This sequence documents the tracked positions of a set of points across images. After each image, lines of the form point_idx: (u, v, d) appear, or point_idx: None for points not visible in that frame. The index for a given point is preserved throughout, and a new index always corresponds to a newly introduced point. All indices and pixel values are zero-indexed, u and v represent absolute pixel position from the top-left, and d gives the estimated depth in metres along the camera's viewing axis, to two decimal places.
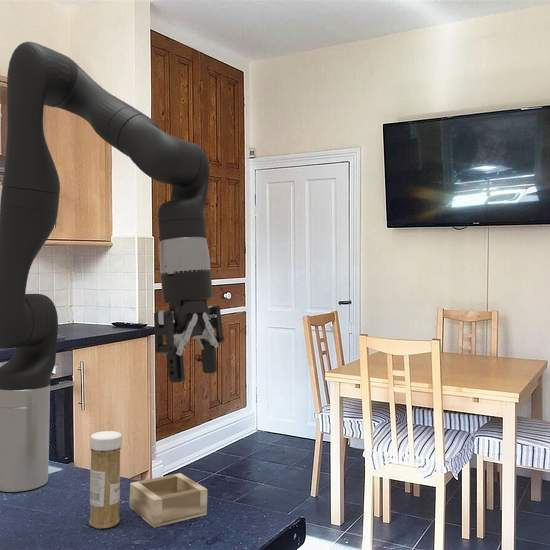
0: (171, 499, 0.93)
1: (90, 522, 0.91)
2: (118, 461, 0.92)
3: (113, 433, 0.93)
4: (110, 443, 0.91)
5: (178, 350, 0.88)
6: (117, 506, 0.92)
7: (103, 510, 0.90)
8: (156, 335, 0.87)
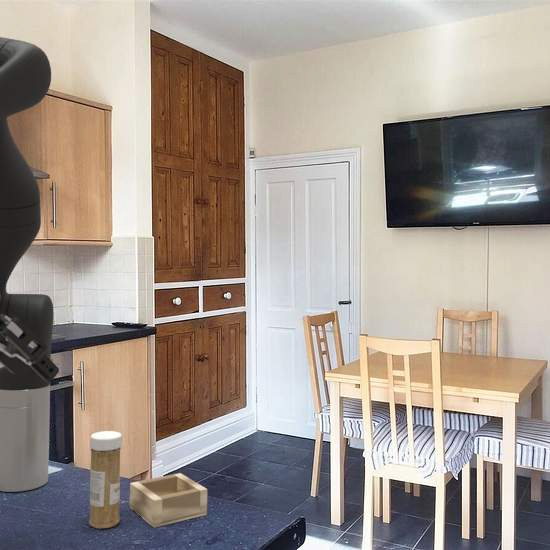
0: (171, 499, 0.93)
1: (90, 522, 0.91)
2: (118, 461, 0.92)
3: (113, 433, 0.93)
4: (110, 443, 0.91)
5: None
6: (117, 506, 0.92)
7: (103, 510, 0.90)
8: None
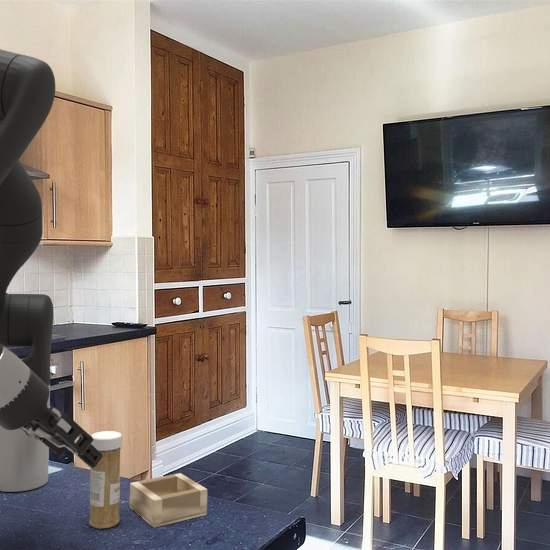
0: (171, 499, 0.93)
1: (90, 522, 0.91)
2: (118, 461, 0.92)
3: (113, 433, 0.93)
4: (110, 443, 0.91)
5: (35, 437, 0.89)
6: (117, 506, 0.92)
7: (103, 510, 0.90)
8: None
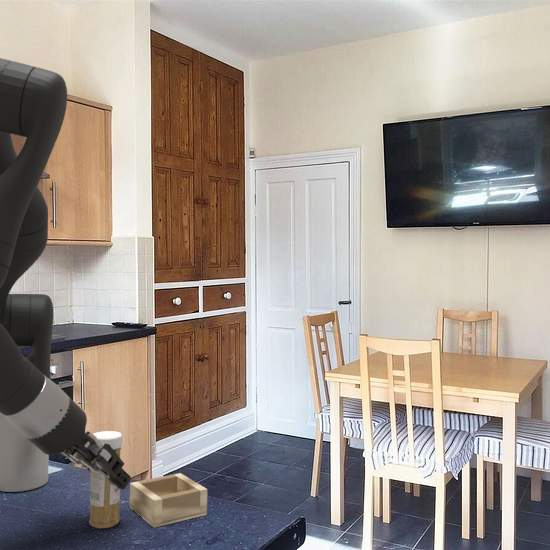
0: (171, 499, 0.93)
1: (90, 522, 0.91)
2: None
3: (113, 433, 0.93)
4: (110, 443, 0.91)
5: (80, 465, 0.93)
6: (117, 506, 0.92)
7: (103, 510, 0.90)
8: None
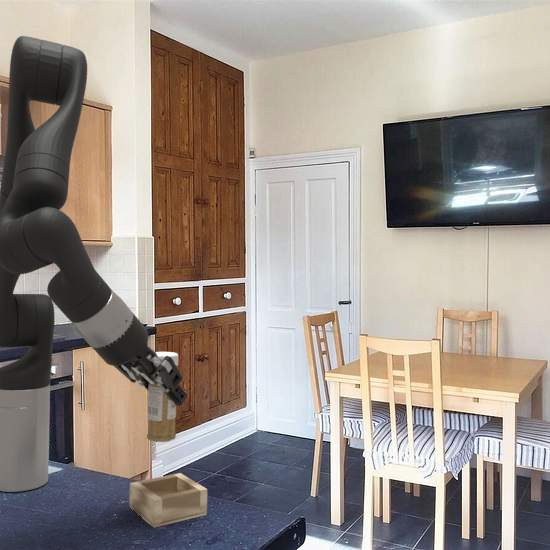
0: (171, 499, 0.93)
1: (148, 436, 0.95)
2: None
3: (170, 353, 0.97)
4: None
5: (139, 383, 0.97)
6: (174, 422, 0.96)
7: (161, 424, 0.95)
8: None
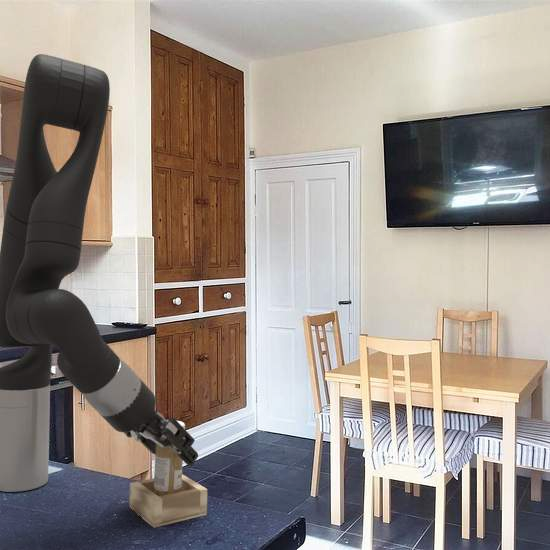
0: (171, 499, 0.93)
1: None
2: None
3: None
4: None
5: (135, 439, 0.99)
6: (180, 491, 0.97)
7: None
8: None
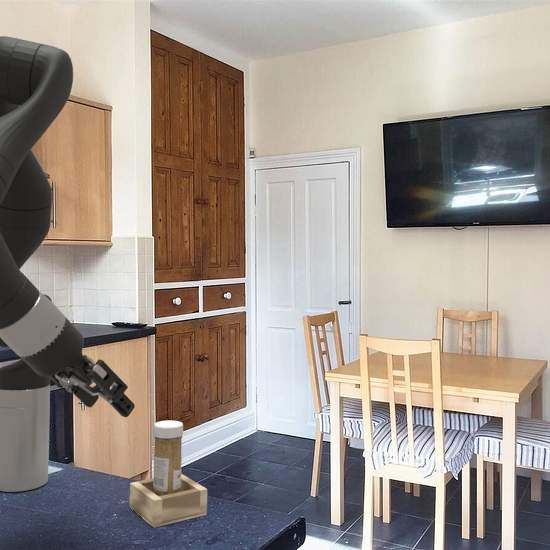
0: (171, 499, 0.93)
1: None
2: (180, 449, 0.97)
3: (175, 422, 0.98)
4: (173, 431, 0.96)
5: (66, 389, 0.89)
6: (179, 491, 0.97)
7: None
8: None
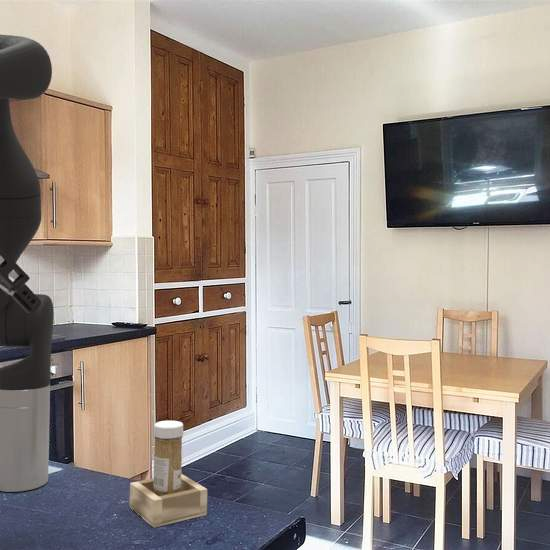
0: (171, 499, 0.93)
1: None
2: (180, 449, 0.97)
3: (175, 422, 0.98)
4: (173, 432, 0.95)
5: None
6: (179, 491, 0.97)
7: None
8: None
